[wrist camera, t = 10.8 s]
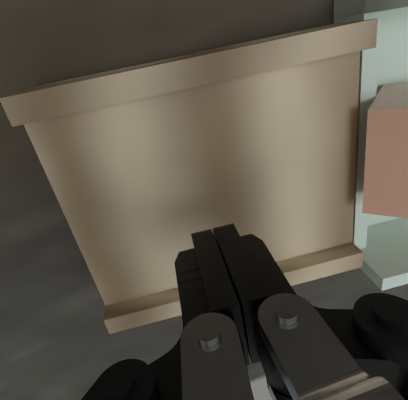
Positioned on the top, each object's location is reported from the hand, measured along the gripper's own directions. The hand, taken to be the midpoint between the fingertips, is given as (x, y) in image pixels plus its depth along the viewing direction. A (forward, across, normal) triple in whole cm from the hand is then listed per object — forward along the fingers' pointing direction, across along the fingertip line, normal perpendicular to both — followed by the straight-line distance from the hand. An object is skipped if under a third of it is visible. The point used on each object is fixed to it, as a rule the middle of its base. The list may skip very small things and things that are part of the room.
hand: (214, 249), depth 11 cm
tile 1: (+5, -9, 0) cm, 11 cm away
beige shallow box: (+7, -1, 0) cm, 7 cm away
